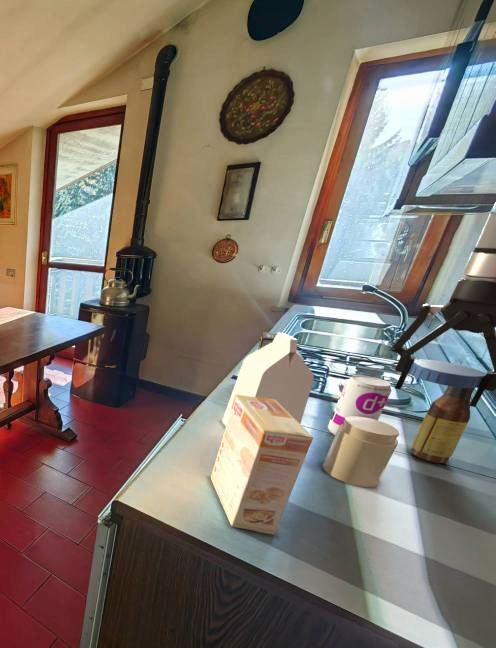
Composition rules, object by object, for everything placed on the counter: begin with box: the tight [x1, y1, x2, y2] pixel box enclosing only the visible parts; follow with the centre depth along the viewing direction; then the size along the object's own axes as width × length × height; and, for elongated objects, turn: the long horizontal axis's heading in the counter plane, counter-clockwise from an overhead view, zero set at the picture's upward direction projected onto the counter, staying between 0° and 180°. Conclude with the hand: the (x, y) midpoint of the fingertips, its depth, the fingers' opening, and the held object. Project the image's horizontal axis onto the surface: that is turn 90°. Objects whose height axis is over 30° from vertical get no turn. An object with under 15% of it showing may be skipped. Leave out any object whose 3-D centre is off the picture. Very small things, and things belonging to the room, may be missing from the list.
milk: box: [221, 332, 315, 427], centre depth 94 cm, size 12×12×26 cm
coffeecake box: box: [210, 395, 314, 536], centre depth 70 cm, size 15×7×20 cm, turn 164°
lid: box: [408, 359, 486, 389], centre depth 75 cm, size 10×10×2 cm
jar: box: [322, 416, 400, 488], centre depth 81 cm, size 9×9×12 cm
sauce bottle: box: [410, 386, 475, 464], centre depth 87 cm, size 6×6×20 cm
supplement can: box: [327, 374, 392, 436], centre depth 97 cm, size 8×8×15 cm
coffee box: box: [257, 331, 277, 350], centre depth 129 cm, size 9×6×16 cm
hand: (433, 395), depth 77 cm, fingers closed on lid, 9 cm apart
